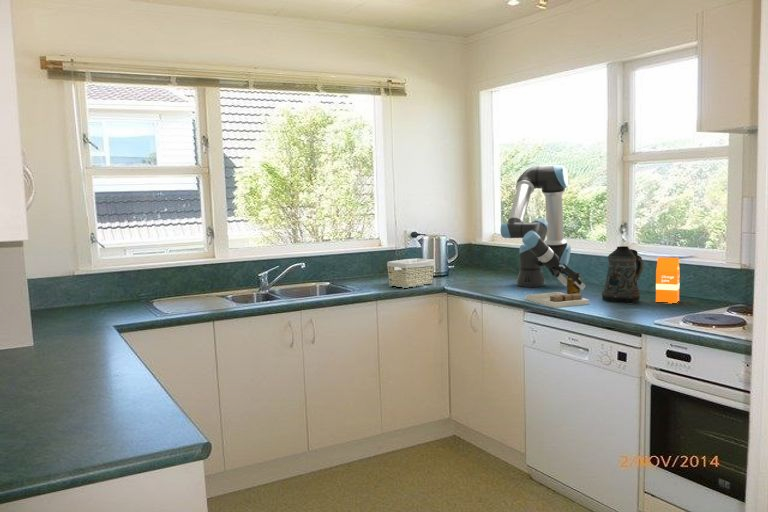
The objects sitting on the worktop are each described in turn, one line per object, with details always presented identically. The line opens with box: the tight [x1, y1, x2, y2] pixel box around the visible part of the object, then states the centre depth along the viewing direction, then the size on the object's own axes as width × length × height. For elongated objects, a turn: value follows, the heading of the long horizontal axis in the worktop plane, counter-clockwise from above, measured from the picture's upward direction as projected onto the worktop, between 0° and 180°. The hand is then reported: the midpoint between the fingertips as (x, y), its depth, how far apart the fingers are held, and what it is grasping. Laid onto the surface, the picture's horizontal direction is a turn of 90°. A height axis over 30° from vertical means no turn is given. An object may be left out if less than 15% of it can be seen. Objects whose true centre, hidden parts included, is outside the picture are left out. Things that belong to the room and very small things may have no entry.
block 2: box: [559, 293, 572, 301], centre depth 282 cm, size 4×4×4 cm
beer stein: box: [601, 245, 644, 304], centre depth 288 cm, size 16×19×25 cm
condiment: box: [566, 271, 581, 294], centre depth 303 cm, size 7×8×12 cm
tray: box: [525, 291, 590, 309], centre depth 289 cm, size 24×18×3 cm
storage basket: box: [386, 257, 435, 287], centre depth 355 cm, size 24×16×15 cm
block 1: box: [550, 295, 563, 302], centre depth 281 cm, size 4×4×4 cm
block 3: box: [569, 293, 583, 301], centre depth 284 cm, size 4×4×4 cm
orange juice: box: [655, 257, 681, 304], centre depth 282 cm, size 8×9×20 cm
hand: (575, 286), depth 303 cm, fingers open, 13 cm apart
